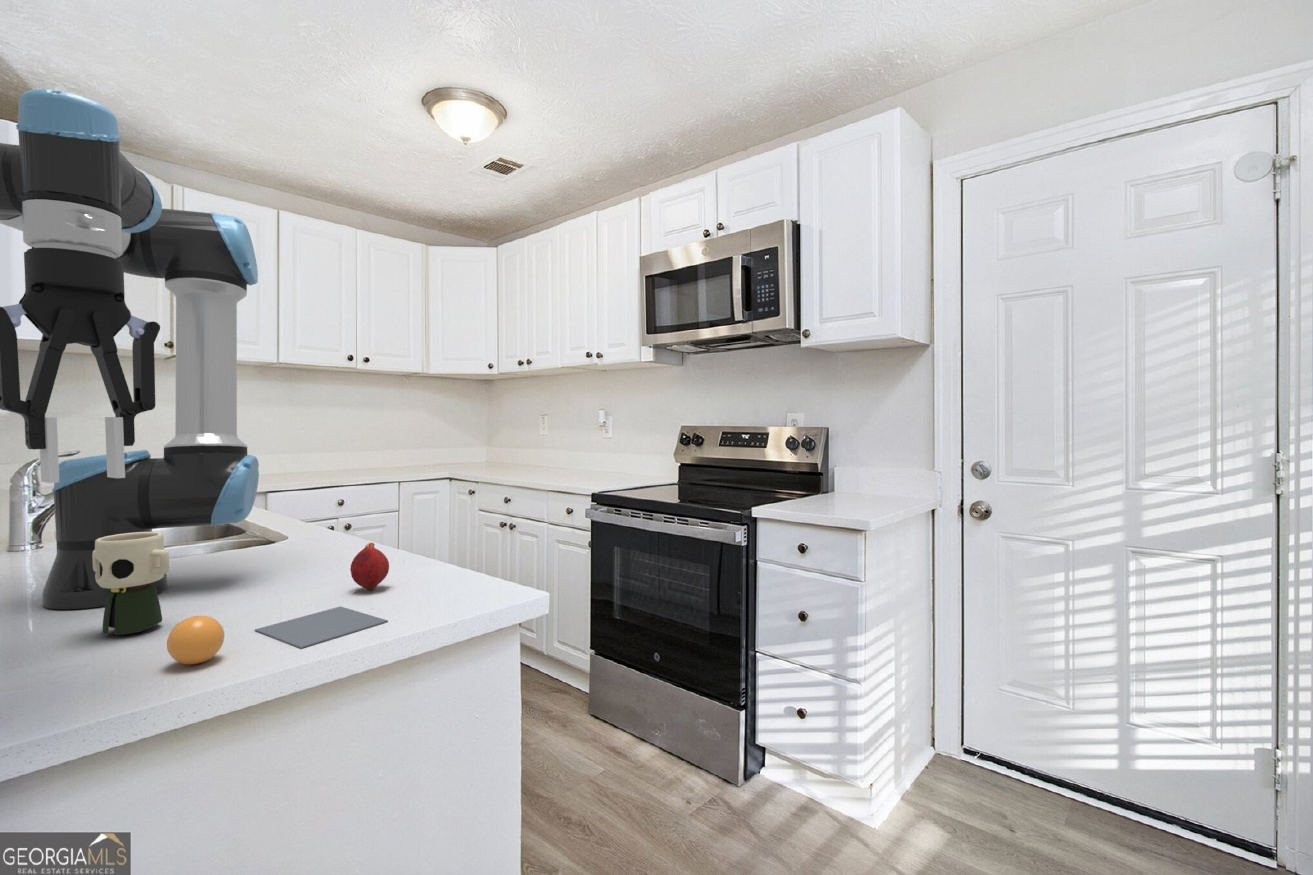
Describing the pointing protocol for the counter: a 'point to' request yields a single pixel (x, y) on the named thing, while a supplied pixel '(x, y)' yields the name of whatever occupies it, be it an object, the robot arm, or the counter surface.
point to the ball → (195, 640)
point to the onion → (369, 567)
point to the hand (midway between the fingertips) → (84, 479)
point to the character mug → (130, 579)
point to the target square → (320, 626)
